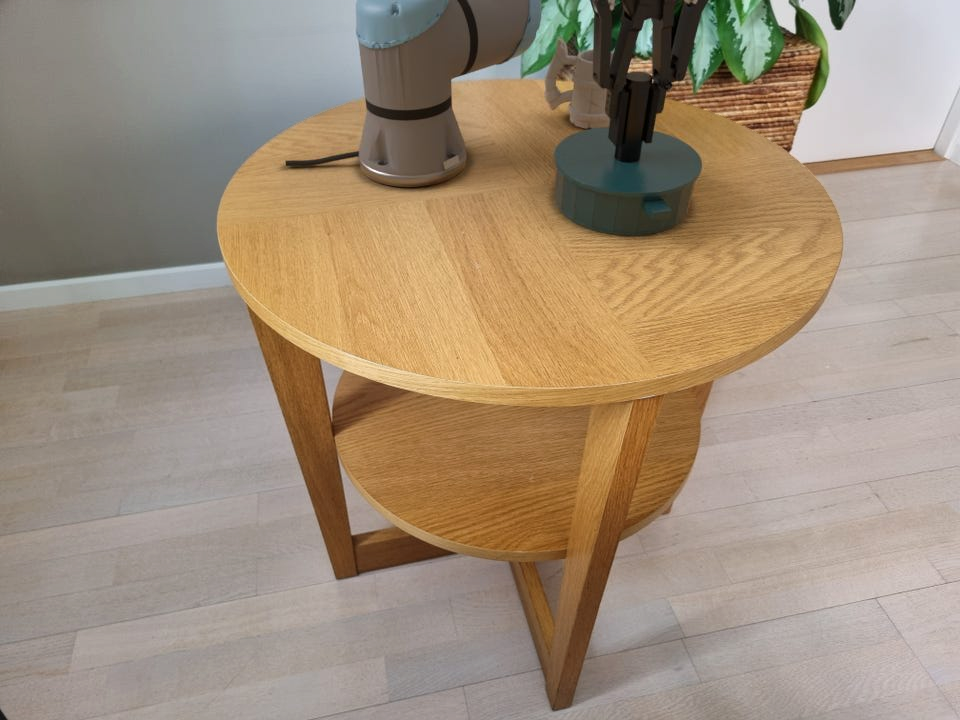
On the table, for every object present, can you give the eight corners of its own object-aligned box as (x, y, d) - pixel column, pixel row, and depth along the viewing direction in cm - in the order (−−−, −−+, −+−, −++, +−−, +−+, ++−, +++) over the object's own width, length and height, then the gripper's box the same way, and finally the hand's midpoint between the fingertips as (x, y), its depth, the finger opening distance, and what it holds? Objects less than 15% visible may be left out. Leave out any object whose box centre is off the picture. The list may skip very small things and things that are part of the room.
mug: (614, 132, 107) (624, 51, 99) (538, 125, 110) (542, 45, 101) (618, 112, 113) (628, 34, 105) (546, 106, 115) (550, 29, 107)
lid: (580, 210, 80) (590, 115, 73) (536, 142, 94) (540, 56, 86) (726, 192, 83) (750, 99, 76) (663, 129, 97) (678, 44, 89)
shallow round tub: (586, 255, 82) (591, 214, 79) (533, 168, 99) (535, 130, 95) (722, 237, 85) (733, 197, 81) (648, 155, 102) (654, 118, 98)
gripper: (598, -70, 67) (576, 160, 82) (753, -78, 69) (704, 146, 85) (573, -85, 72) (557, 134, 88) (718, -92, 75) (677, 121, 90)
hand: (629, 139), depth 86 cm, fingers closed on lid, 3 cm apart
